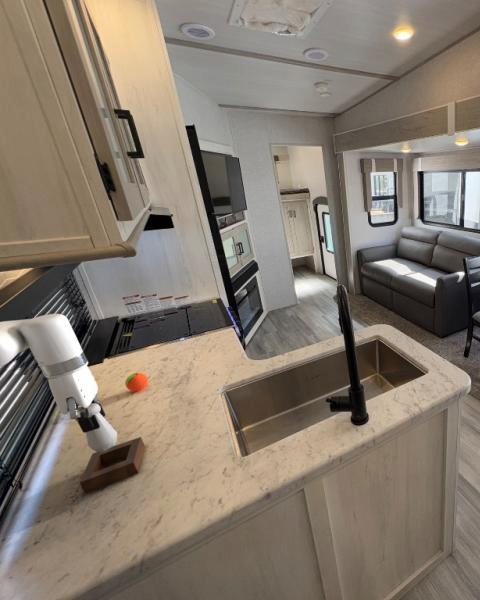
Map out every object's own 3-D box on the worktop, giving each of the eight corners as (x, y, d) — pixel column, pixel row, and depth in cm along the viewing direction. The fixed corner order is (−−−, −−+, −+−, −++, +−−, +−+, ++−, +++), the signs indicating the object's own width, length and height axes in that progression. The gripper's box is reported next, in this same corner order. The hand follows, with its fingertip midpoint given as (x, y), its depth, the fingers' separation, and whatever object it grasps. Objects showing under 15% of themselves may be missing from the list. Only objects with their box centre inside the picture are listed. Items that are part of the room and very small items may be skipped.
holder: (85, 493, 79) (79, 482, 78) (98, 464, 88) (92, 453, 87) (138, 473, 84) (133, 462, 83) (145, 446, 93) (140, 436, 92)
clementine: (139, 396, 118) (132, 380, 116) (121, 396, 119) (114, 381, 116) (155, 383, 126) (149, 368, 123) (138, 384, 126) (132, 369, 124)
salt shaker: (123, 442, 84) (105, 403, 80) (96, 457, 80) (75, 417, 75) (115, 435, 87) (97, 397, 83) (88, 449, 83) (67, 410, 78)
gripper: (57, 354, 80) (86, 411, 86) (26, 386, 66) (63, 451, 72) (95, 346, 83) (120, 401, 89) (73, 375, 69) (104, 438, 76)
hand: (94, 423), depth 81 cm, fingers closed on salt shaker, 4 cm apart
